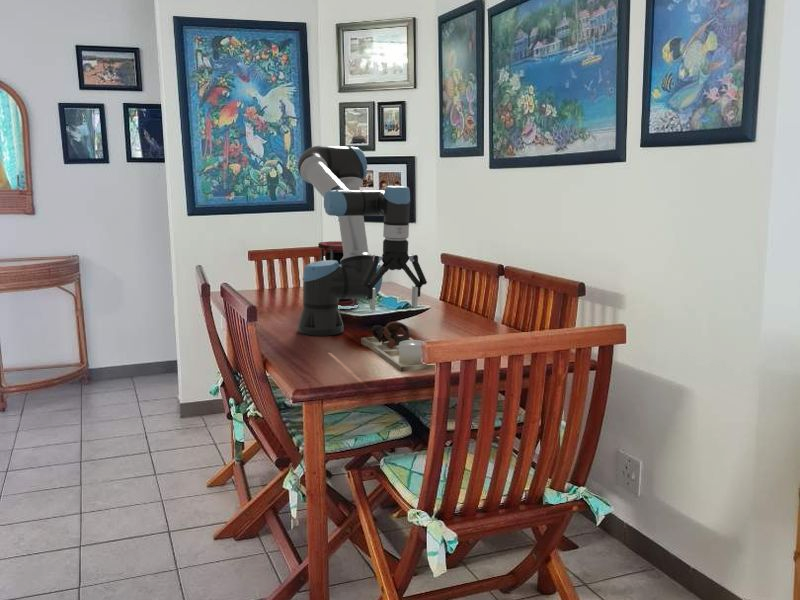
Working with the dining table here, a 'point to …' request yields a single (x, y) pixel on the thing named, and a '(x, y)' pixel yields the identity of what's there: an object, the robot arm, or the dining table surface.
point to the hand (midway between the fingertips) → (393, 308)
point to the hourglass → (335, 253)
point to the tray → (391, 354)
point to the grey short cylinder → (410, 352)
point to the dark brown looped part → (390, 333)
